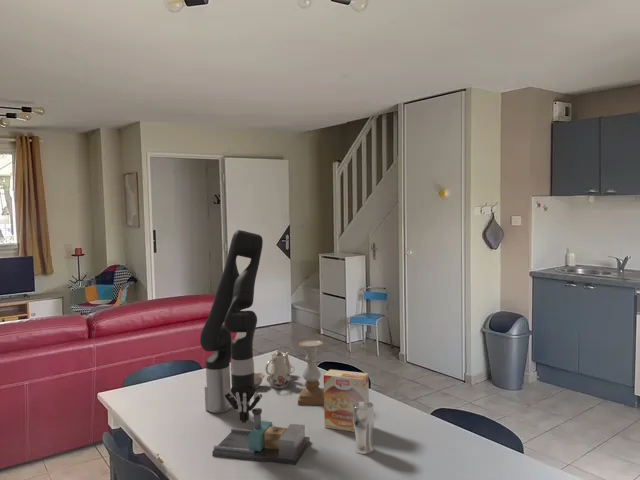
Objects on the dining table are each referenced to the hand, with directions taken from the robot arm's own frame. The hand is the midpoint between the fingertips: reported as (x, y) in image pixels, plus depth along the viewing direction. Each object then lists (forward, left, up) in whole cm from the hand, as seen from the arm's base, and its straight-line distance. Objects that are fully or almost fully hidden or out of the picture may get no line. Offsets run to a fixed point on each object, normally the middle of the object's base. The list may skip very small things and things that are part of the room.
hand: (244, 421), depth 171 cm
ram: (+5, 0, -7) cm, 9 cm away
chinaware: (-11, +60, -9) cm, 62 cm away
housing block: (+11, 0, -7) cm, 13 cm away
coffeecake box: (+30, +22, -9) cm, 38 cm away
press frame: (+6, 0, -8) cm, 10 cm away
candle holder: (+11, +44, -9) cm, 46 cm away
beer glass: (+39, +6, -9) cm, 40 cm away
